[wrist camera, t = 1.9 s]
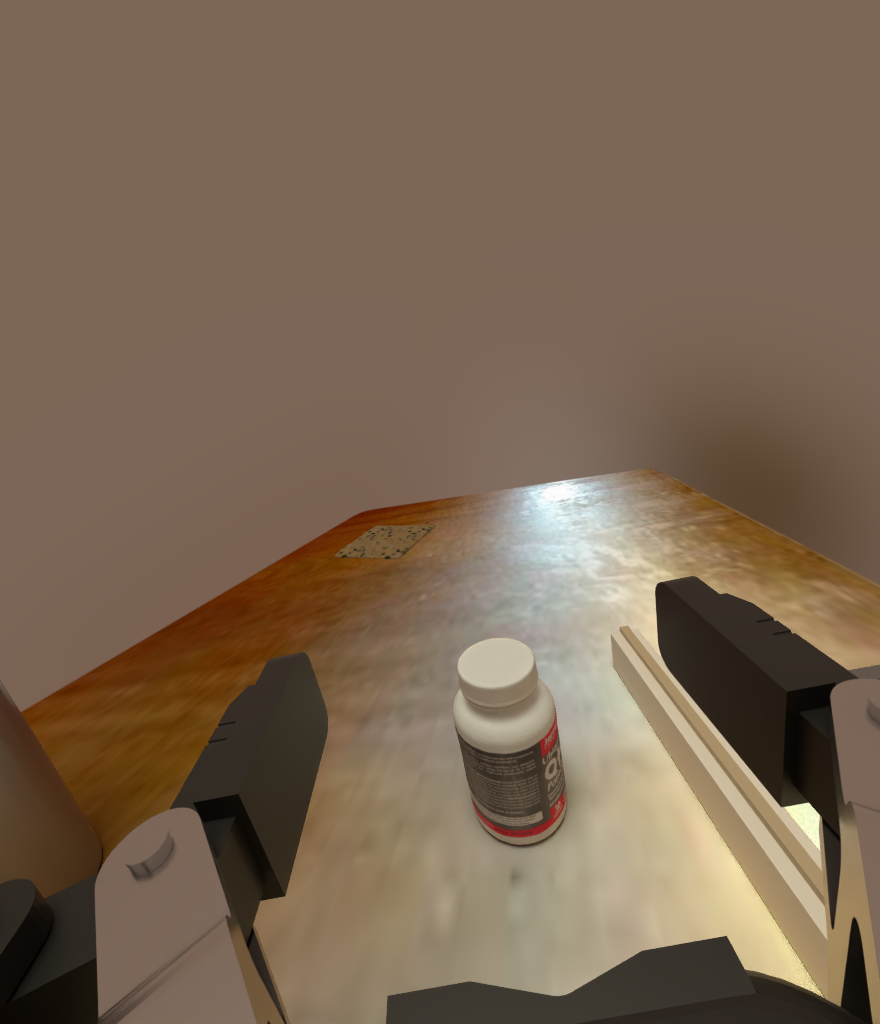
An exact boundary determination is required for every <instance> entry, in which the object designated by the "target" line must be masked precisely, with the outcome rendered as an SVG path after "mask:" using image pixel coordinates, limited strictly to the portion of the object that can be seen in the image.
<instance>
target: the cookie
mask: <svg viewBox="0 0 880 1024" xmlns="http://www.w3.org/2000/svg"><path fill="white" fill-rule="evenodd" d="M434 527H435V525H425V526H424V525H413V526H396V525H395V526H376V527H372V528H371V529H370V530H369V531H367V532H365V533H364V534H363V535H362V536H361V537H359V538H358V539H357V540H355V541H353V542H352V543H350V544H349V545H347V546H344V547H343V548H342V549H341V550H340V551H339V552H338V553H337V554H336V555H335V556H334V557H347V558H378V559H399V558H401V557H402V556H403V555H404V554H405V553H406V552H407V551H408V550H409V549H411V548H412V547H413V546H414V545H415V544H416V543H417V542H418V541H420V540H421V539H422V538H423V537H424V536H425V535H426V534H428V533H429V532H430V531H431V530H432V529H433V528H434Z"/></svg>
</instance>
